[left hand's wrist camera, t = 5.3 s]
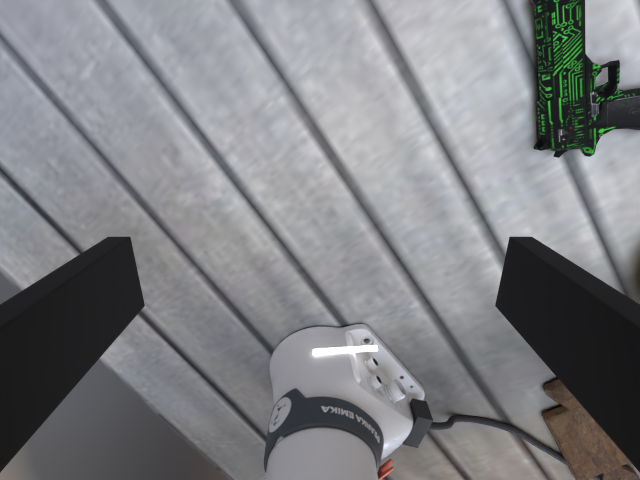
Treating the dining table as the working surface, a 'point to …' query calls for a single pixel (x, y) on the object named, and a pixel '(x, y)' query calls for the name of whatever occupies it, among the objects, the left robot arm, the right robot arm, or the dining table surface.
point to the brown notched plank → (583, 439)
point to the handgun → (575, 84)
